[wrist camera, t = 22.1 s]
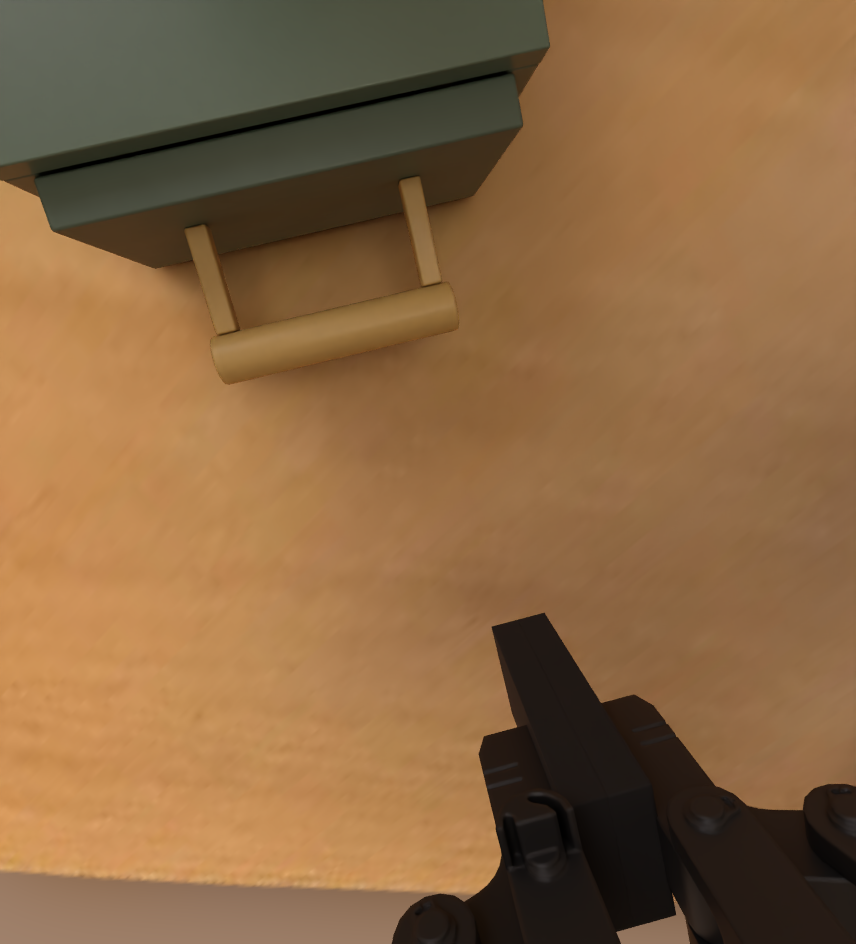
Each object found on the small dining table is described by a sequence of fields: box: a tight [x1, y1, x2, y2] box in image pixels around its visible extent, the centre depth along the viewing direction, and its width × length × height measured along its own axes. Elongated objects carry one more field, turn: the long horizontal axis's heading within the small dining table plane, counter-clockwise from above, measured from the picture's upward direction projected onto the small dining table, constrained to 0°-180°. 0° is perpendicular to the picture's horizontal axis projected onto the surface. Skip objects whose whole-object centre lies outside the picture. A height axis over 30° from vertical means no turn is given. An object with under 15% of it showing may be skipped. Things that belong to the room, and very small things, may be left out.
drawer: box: [34, 74, 523, 385], centre depth 16 cm, size 19×11×7 cm, turn 13°
